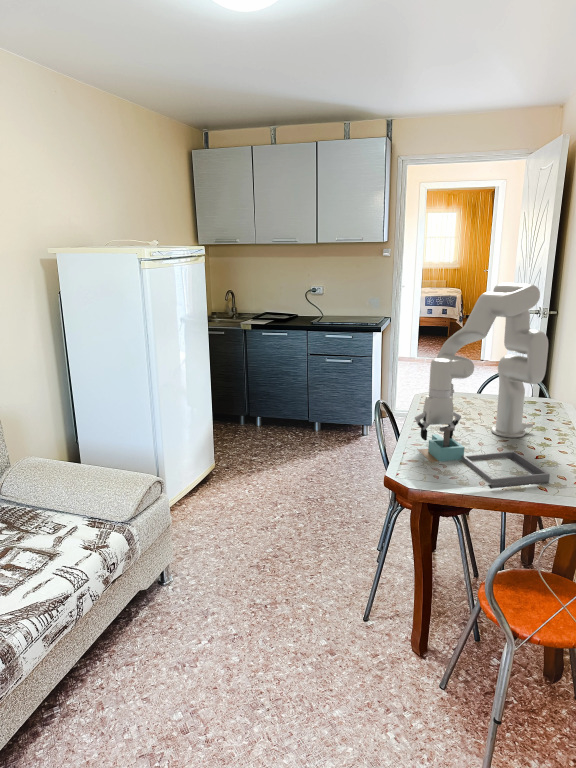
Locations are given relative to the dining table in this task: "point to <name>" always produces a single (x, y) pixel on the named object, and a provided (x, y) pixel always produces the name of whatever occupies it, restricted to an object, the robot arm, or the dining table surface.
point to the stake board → (425, 453)
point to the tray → (536, 476)
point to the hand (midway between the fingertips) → (436, 438)
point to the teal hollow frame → (445, 449)
